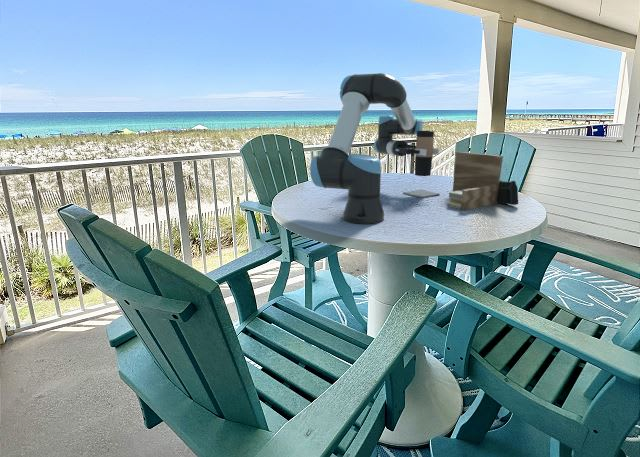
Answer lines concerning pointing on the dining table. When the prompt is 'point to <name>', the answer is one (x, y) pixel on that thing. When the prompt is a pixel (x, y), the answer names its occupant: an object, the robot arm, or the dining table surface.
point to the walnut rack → (477, 179)
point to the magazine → (507, 193)
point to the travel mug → (425, 162)
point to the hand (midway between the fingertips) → (432, 152)
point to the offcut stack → (455, 198)
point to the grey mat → (421, 193)
